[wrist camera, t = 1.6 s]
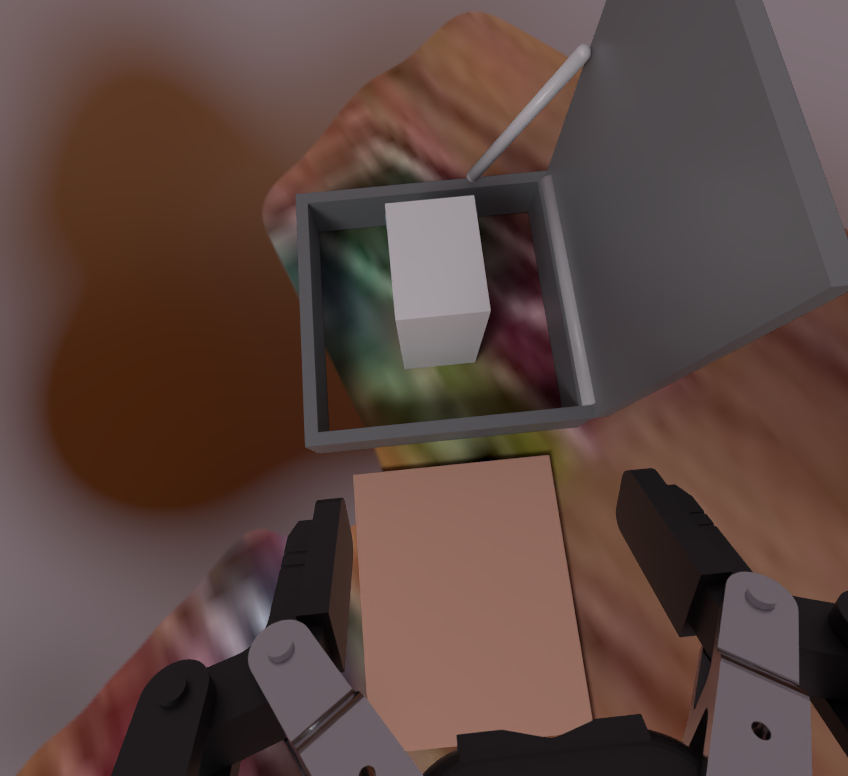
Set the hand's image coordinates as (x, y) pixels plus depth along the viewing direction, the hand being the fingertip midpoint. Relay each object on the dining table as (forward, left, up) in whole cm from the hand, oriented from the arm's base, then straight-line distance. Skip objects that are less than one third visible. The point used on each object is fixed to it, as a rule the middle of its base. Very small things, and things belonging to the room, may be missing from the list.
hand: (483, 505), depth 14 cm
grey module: (0, -13, -18) cm, 22 cm away
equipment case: (0, -13, -18) cm, 22 cm away
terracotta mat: (0, +5, -18) cm, 19 cm away
